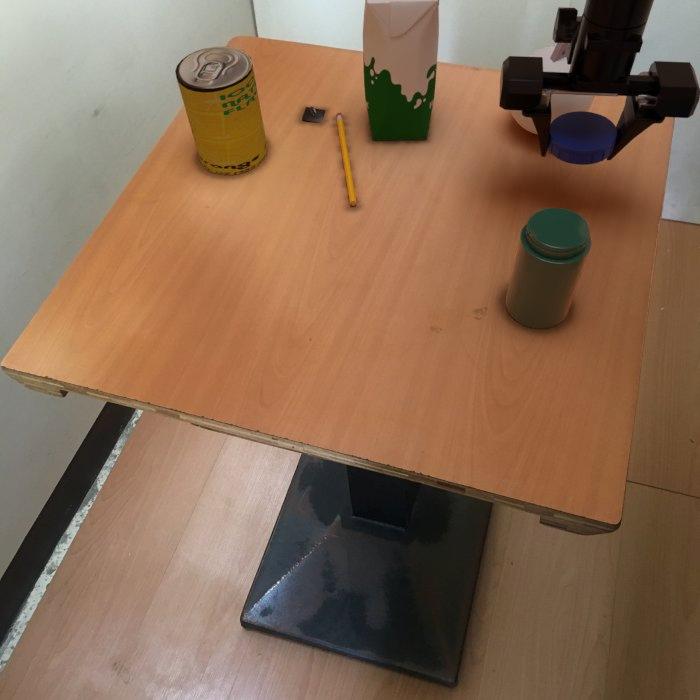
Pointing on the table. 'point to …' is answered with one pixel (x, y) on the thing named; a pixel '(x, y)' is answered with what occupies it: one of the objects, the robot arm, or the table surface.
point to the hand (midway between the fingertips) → (575, 156)
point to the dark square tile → (313, 114)
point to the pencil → (346, 160)
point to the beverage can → (223, 109)
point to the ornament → (559, 102)
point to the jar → (547, 267)
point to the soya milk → (400, 66)
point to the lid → (582, 137)
